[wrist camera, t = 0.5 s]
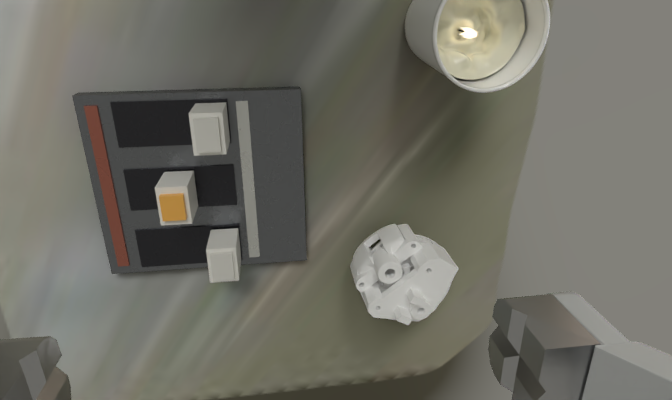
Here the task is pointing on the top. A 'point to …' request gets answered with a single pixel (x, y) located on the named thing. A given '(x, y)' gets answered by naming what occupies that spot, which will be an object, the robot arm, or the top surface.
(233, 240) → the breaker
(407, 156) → the top surface
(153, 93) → the panel
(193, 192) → the breaker mid
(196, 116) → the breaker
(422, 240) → the mechanical part
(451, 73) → the candle holder
